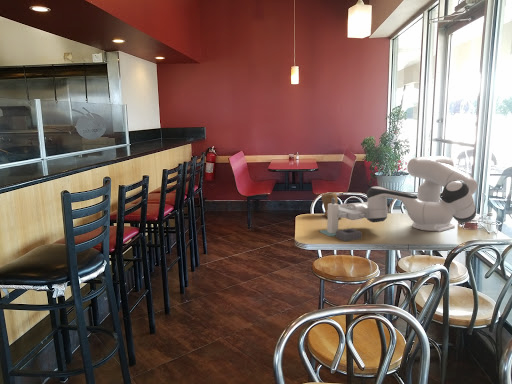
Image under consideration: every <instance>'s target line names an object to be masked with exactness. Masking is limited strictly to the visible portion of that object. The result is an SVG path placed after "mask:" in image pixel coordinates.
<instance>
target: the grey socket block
mask: <svg viewBox="0 0 512 384" xmlns="http://www.w3.org/2000/svg"><path fill="white" fill-rule="evenodd" d="M335 238H336V239H339V240H340V241H343V242H348V241H355V240H356V241H357V240H361V239H362V231H360V230H358V229H355V228H346V229H338V230H337V231H336V236H335Z"/></svg>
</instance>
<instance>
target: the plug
mask: <svg viewBox="0 0 512 384" xmlns="http://www.w3.org/2000/svg"><path fill="white" fill-rule="evenodd" d="M339 205H340V204H339V203H337V204H336V203H335V198H332V203H330V204H328V217H327V222H326V223H327V224H326V225H327V227H326V230H327V232H329V233H336V231H337V230H339V219H338V217H337V214H339Z"/></svg>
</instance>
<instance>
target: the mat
mask: <svg viewBox="0 0 512 384" xmlns="http://www.w3.org/2000/svg"><path fill="white" fill-rule="evenodd" d="M318 232H319V233H321V234H323V235H325V236H328V237H330V238H331V237H336V233H329V232H327V229H324V230H323V229H321V230H319V231H318Z"/></svg>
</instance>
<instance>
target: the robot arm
mask: <svg viewBox="0 0 512 384" xmlns="http://www.w3.org/2000/svg"><path fill="white" fill-rule="evenodd" d="M406 168H407V172H408V175H410V176H411V177H413V178H414V177H415V178H418V179H419V178H420V179H423V180H424V181H423V182H422V183H421V184H420V185H419V186H418V188H417V195H416V194H415V193H411V192H405V191H400V190H394V189H390V188H385V187H383V186H377V185H376V186H375V185H374V186H371V187H370V188H369V189H368V190H367V191H366V199H367V201H363V202H352V203H349V202H343V204H339V214H337V217H338V218H339V219H341V218H342V219H343V218H344V219H346V220H350V221H357V220H362V219H366V220H367V221H369V222H371V223H380V222H385V220H386V219H387V218H388V198H389V199H395V200H399V201H400V202H401V203H402V204H403V206H404V207H405V210H406V213H407V215H408V217H409V218H410V220H411V221H412V228H414V229H417V230H421V231H427V232H428V231H430V232H431V231H432V232H444V231H447V230H451V229H454V228H455V226H456V225H454V224H453V223H451V221H452V220H453V219H455V221H457V222H459V223H468V222H471V221H473V219H475V217H476V215H477V208H476V205H475V200H474V197H473V195H474V194H475V193H476V191H477V190H478V182H477V181H476V179H474V178H473V176H471V175H469V174H468V173H466V172H465V171H463V170H461V169H459V168H458V167H456V166H455V165H454V161H453V160H452V158H450V157H448V156H444V155H430V156H418V157H414V158H411V159H409V161H408V163H407V166H406ZM442 187H443V189H442ZM441 190H442V192H441ZM327 214H328V210H327Z"/></svg>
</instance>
